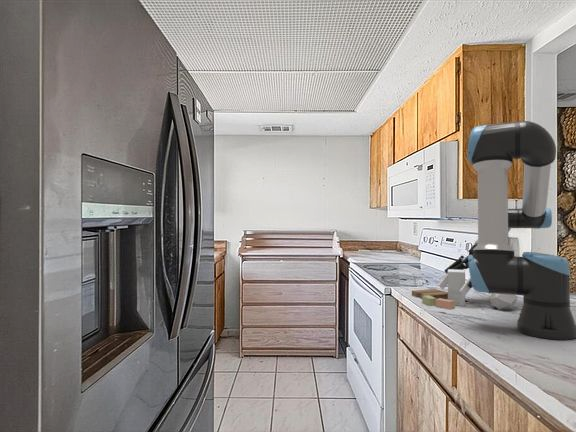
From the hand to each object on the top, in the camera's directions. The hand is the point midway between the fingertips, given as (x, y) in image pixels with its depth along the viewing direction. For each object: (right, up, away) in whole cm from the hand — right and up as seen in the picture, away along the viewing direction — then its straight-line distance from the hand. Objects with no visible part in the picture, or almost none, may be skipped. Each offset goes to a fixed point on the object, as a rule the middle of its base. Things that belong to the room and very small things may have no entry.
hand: (451, 290), depth 159 cm
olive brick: (-8, -6, +1) cm, 10 cm away
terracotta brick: (-4, -6, -6) cm, 9 cm away
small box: (+3, -6, +1) cm, 6 cm away
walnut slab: (-2, -5, +14) cm, 15 cm away
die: (+16, -5, -9) cm, 19 cm away
